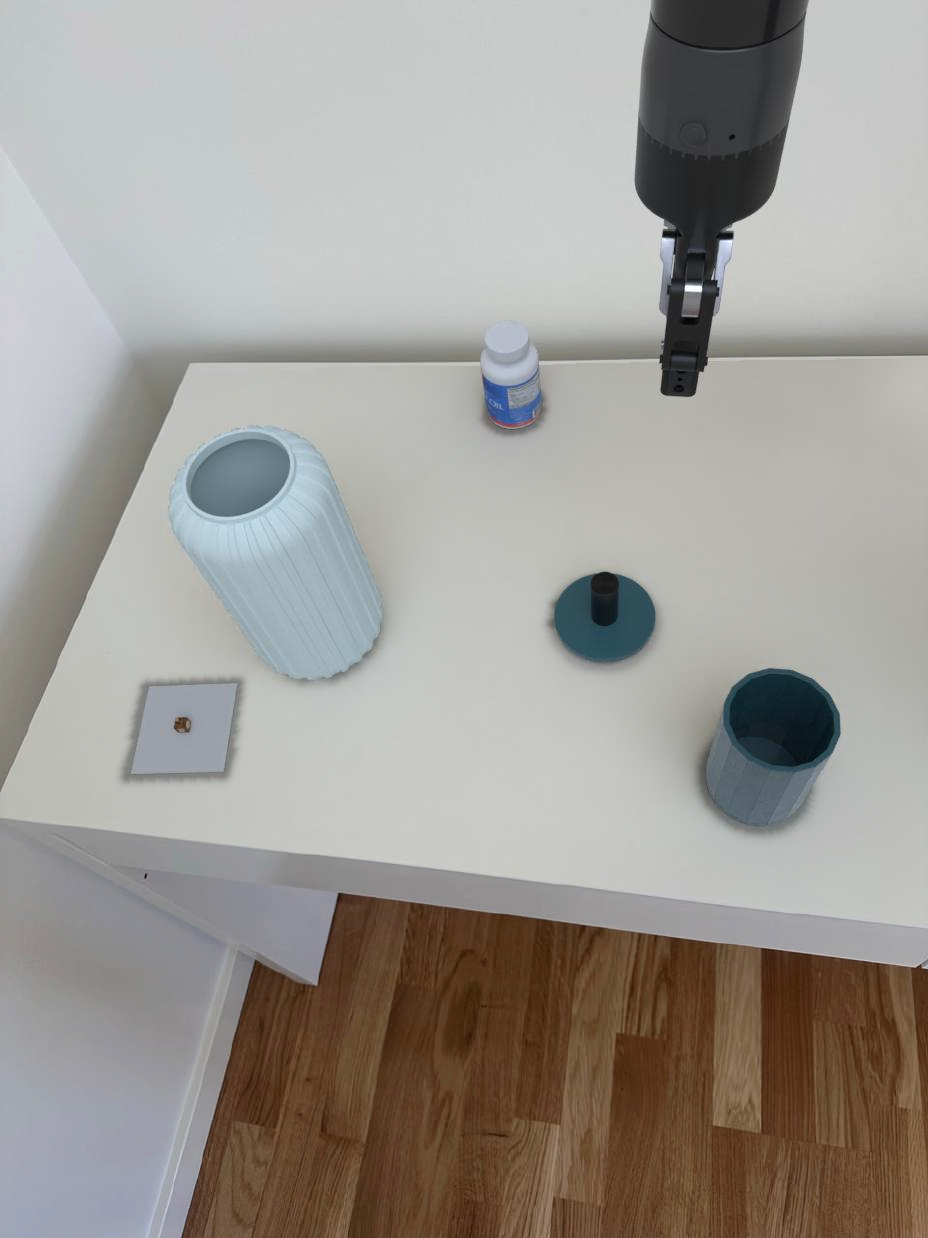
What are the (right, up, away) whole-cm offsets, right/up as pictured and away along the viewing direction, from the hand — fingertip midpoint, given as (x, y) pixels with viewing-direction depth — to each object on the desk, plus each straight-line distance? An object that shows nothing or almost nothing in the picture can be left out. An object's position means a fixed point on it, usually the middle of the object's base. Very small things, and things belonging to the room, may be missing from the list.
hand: (682, 343), depth 60 cm
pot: (+7, -30, +9) cm, 32 cm away
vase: (-27, -19, +20) cm, 38 cm away
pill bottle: (-9, +2, +30) cm, 31 cm away
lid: (-3, -18, +16) cm, 25 cm away
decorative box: (-38, -27, +17) cm, 50 cm away
